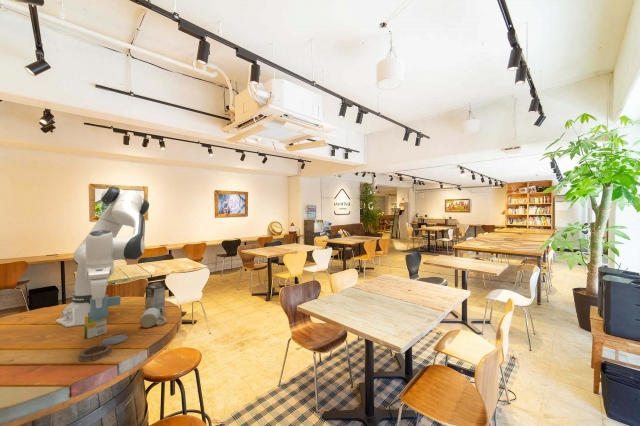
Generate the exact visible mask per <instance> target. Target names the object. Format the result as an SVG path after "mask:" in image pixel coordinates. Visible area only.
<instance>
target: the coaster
mask: <svg viewBox="0 0 640 426" xmlns="http://www.w3.org/2000/svg"><path fill="white" fill-rule="evenodd" d="M128 337H129V336H128V335H126V334H119V335H118V334H117V335H112V336H110V337H106V338H105V339H102V341H101V343H100V345H102V344H108V345H111V346H115V345H118V344H122V343H123V342H125V341H127V340H128Z"/></svg>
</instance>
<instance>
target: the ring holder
mask: <svg viewBox="0 0 640 426" xmlns="http://www.w3.org/2000/svg"><path fill="white" fill-rule="evenodd" d="M111 353H112V345H108V344H97V345H93V346H89V347H86V348H84V349H83V350H81V351H80V352H79V353H78V361H79V362H83V363H86V362H93V361H97V360H100V359H104V358H105V357H108V356H109V355H110V354H111Z"/></svg>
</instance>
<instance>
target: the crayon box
mask: <svg viewBox="0 0 640 426" xmlns="http://www.w3.org/2000/svg"><path fill="white" fill-rule="evenodd" d="M107 320H108V316H106V317H104V318H100V319H90V312H88V315H86V316H85V325H84V339H86V340H89V339H91V338H95V337H98V336H101V335H104V334H107V332H108V331H107V326H108V324H107V323H108V321H107Z"/></svg>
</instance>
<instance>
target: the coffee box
mask: <svg viewBox="0 0 640 426" xmlns="http://www.w3.org/2000/svg"><path fill="white" fill-rule="evenodd" d="M144 299H145V302H144V304H145V307H144V312H145V311H146V310H147V309H149V308H156V309H158V310H159V311H160V314H161V315H160V317H165V314H166V313H165V309H166V307H165V306H166V286H164V285H161V284H158V283H157V284H153V285H152V284H151V285H146V286H145V297H144Z"/></svg>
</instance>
